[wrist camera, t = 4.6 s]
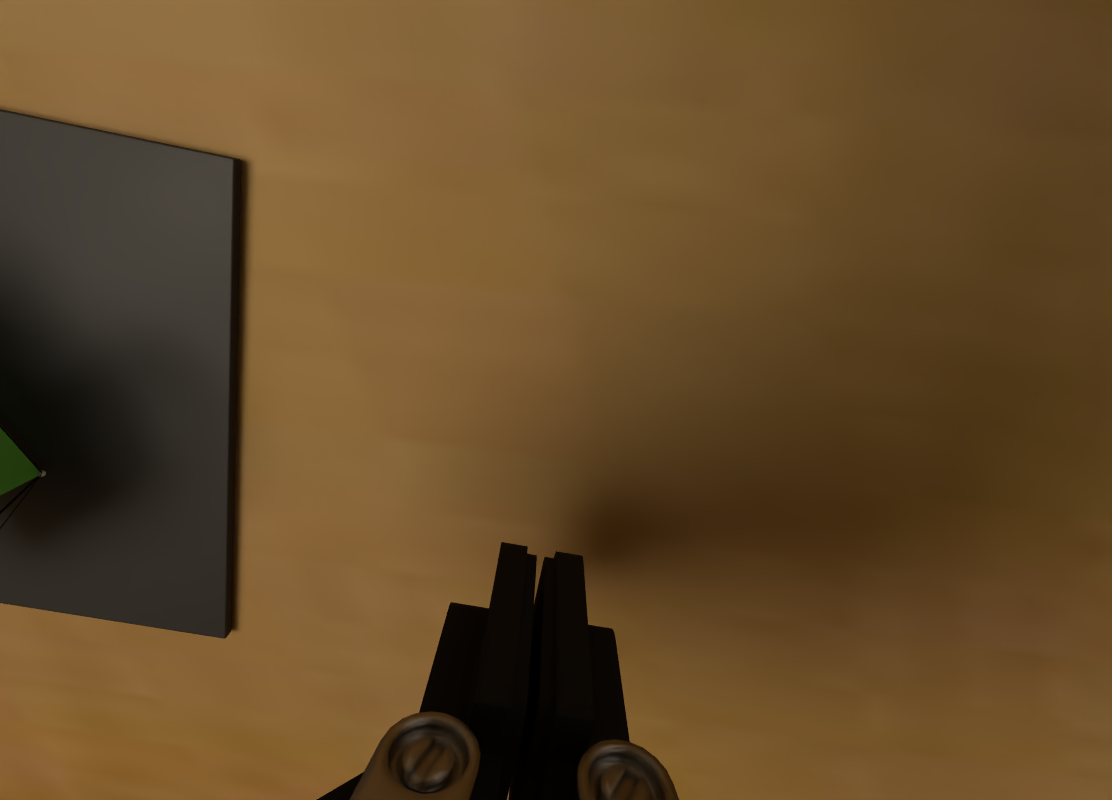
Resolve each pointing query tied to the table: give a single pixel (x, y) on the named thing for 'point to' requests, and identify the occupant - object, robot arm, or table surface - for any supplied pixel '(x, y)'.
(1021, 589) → the table surface
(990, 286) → the table surface
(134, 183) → the desk pad
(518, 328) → the table surface
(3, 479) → the geometric puzzle
